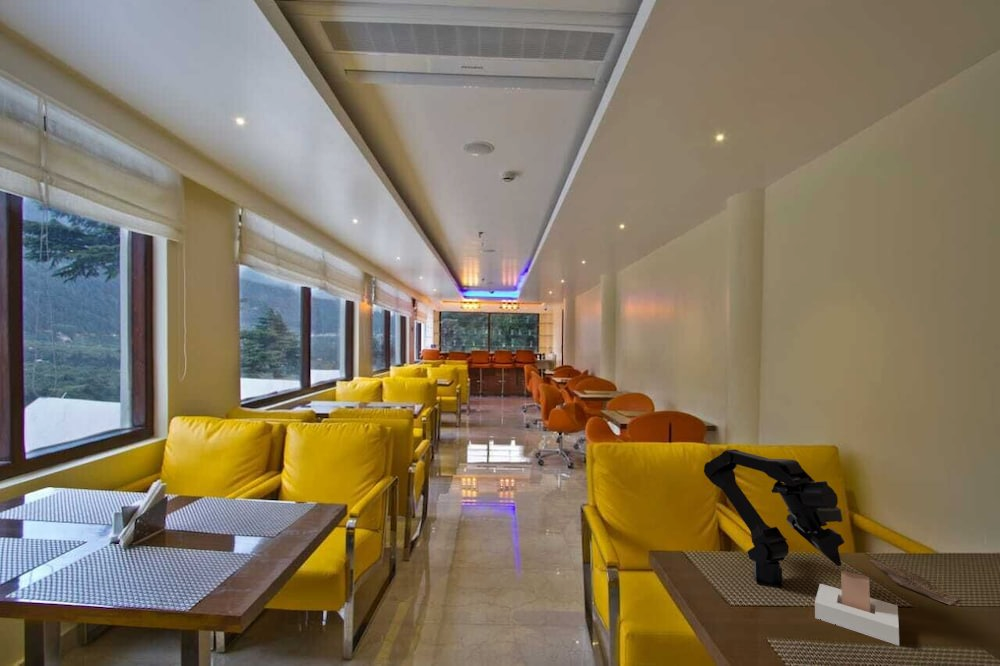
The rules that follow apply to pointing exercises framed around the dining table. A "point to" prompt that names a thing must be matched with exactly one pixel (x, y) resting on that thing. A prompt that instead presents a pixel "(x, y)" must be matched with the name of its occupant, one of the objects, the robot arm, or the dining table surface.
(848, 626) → the white slotted block
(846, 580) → the pink rectangular block
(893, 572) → the wooden fragment
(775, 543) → the robot arm
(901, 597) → the dining table surface
